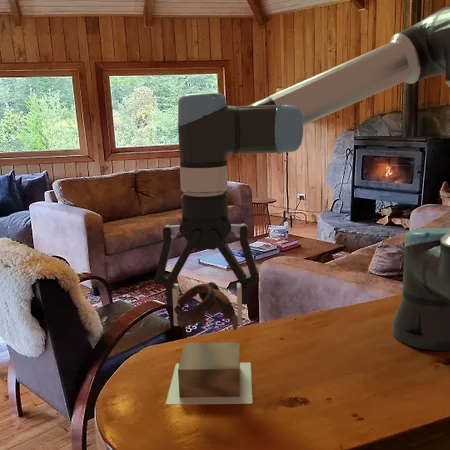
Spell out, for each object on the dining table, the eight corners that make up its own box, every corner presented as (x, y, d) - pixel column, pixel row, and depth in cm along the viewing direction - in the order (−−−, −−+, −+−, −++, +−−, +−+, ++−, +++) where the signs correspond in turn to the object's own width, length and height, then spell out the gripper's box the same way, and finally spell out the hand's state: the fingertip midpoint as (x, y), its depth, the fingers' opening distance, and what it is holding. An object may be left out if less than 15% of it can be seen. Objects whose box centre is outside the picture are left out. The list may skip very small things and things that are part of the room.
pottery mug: (242, 340, 83) (216, 302, 80) (191, 361, 85) (164, 325, 82) (242, 296, 94) (219, 261, 91) (197, 316, 96) (173, 283, 93)
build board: (250, 369, 98) (250, 362, 98) (252, 411, 84) (252, 403, 84) (176, 370, 98) (176, 363, 98) (166, 412, 85) (165, 404, 84)
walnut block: (239, 367, 96) (239, 342, 95) (239, 396, 86) (239, 368, 85) (185, 368, 96) (184, 343, 95) (179, 397, 86) (177, 369, 85)
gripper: (273, 187, 87) (273, 313, 92) (139, 190, 88) (146, 314, 93) (276, 194, 80) (276, 330, 85) (129, 197, 81) (138, 332, 85)
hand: (208, 322), depth 89 cm, fingers closed on pottery mug, 10 cm apart
